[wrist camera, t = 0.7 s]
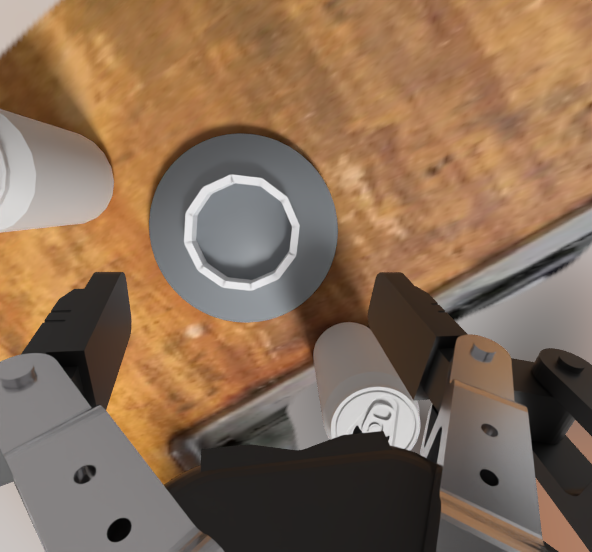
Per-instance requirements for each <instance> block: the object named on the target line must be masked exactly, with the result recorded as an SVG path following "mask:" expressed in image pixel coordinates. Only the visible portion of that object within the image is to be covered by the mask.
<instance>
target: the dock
mask: <svg viewBox="0 0 592 552" xmlns="http://www.w3.org/2000/svg"><path fill="white" fill-rule="evenodd" d="M149 230H150V240H151V246H152V250H153V253H154V256H155V259H156V262H157V264H158V266H159V268H160V270H161V272H162V274H163V275H164V277H165V279H166V280H167V282H168V283H169V284H170V285H171V287H172V288H173V289H174V290H175V291H176V292H177V293H178V294H179V295H180V296H181V297H182V298H183V299H184V300H185V301H187V302H188V303H189V304H191V305H192V306H193V307H195V308H197V309H198V310H200V311H202V312H204V313H206V314H208V315H211V316H213V317H216V318H220V319H223V320H228V321H234V322H259V321H264V320H269V319H273V318H276V317H278V316H281V315H284V314H286V313H288V312H290V311H292V310H293V309H295V308H296V307H298V306H299V305H301V304H302V303H303V302H305V301H306V300H307V299H308V298H309V297H310V296H311V295H312V294H313V293H314V292H315V291H316V290H317V288H318V287H319V286H320V284H321V283H322V281H323V280H324V278H325V277H326V275H327V273H328V271H329V269H330V267H331V264H332V261H333V258H334V255H335V250H336V246H337V235H338V226H337V216H336V211H335V206H334V203H333V200H332V197H331V194H330V192H329V190H328V188H327V186H326V184H325V182H324V180H323V179H322V177H321V176H320V174H319V173H318V172H317V170H316V169H315V168H314V167H313V166H312V165H311V163H310V162H309V161H307V160H306V159H305V158H304V157H303V156H302V155H301V154H299V153H298V152H296V151H295V150H293V149H292V148H291V147H289V146H287V145H285V144H283V143H281V142H279V141H277V140H274V139H271V138H268V137H264V136H259V135H254V134H240V133H239V134H227V135H222V136H218V137H214V138H211V139H208V140H206V141H203V142H201V143H199V144H197V145H196V146H194V147H192V148H190V149H189V150H188V151H186V152H185V153H184V154H182V155H181V156H180V157H179V158H178V159H177V160H176V161H175V162H174V163H173V164H172V165H171V166H170V168H169V169H168V170H167V172H166V173H165V174H164V176H163V178H162V179H161V181H160V183H159V185H158V187H157V190H156V192H155V195H154V197H153V201H152V205H151V210H150V220H149Z"/></svg>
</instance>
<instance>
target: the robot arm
mask: <svg viewBox="0 0 592 552" xmlns="http://www.w3.org/2000/svg"><path fill="white" fill-rule="evenodd" d="M368 323H369V327H370V329H371V331H372V333H373V334H374V336H375V337H376V339H377V341H378V342H379V344H380V346H381V347H382V349H383V351H384V352H385V354H386V356H387V357H388V359H389V361H390V362H391V364H392V366H393V367H394V369H395V371H396V372H397V374H398V376H399V377H400V379H401V381H402V382H403V384H404V386H405V387H406V389H407V391H408V392H409V394H410V396H411V397H412V399H413V401H415V400H427V399H430V401H431V402H432V405H431V407H430V410H429V413H428V417H427V422H426V427H425V432H424V437H423V441H422V446H421V451H420V455H419V454H417V453H415V452H412V451H409V450H406V449H403V448H399V447H395V446H390V444H389V442H388V440H387V438H386V436H385V433H384V431H378V432H368V433H358V434H348V435H341V436H339V437H336V438H333V439H331V440H328V441H325V442H323V443H320V444H317V445H315V446H312V447H309V448H307V449H304V450H288V449H281V448H273V447H265V446H258V445H240V446H231V447H221V448H211V449H202V450H201V466H198V467H195V468H193V469H190V470H188V471H186V472H184V473H182V474H180V475H178V476H177V477H175V478H174V479H172V480H170V481H169V482H167V483H166V484H165V485H163V484H162V483H161V481H160V480H159V479H158V477H157V476H156V475H155V474H154V472H153V471H152V470H151V468H150V467H149V466H148V464H147V463H146V462H145V461H144V459H143V458H142V457H141V455H140V454H139V453H138V452H137V450H136V449H135V448H134V446H133V445H132V444H131V442H130V441H129V440H128V439H127V437H126V436H125V435H124V433H123V432H122V431H121V429H120V428H119V427H118V426H117V424H116V423H115V422H114V420H113V419H112V418H111V417H110V415H109V414H108V413H107V411H106V409H107V405H108V402H109V399H110V396H111V393H112V390H113V387H114V384H115V381H116V378H117V375H118V372H119V369H120V366H121V362H122V359H123V356H124V353H125V350H126V347H127V344H128V341H129V338H130V334H131V312H130V304H129V297H128V290H127V283H126V277H125V274H124V273H123V272H95V273H94V274H93V275H92V277H91V279H90V280H89V282H88V284H87V285H86V287H85V289H74V290H72V291H71V292H69V293H68V294H66V295H65V296H63V297H62V298H60V299H59V300H58V302H57V303H56V305H55V306H54V307H53V309H52V310H51V313H49V315H48V316H47V318H46V319H45V323H42V325H41V326H40V328H39V329H38V331H37V332H36V333H35V335H34V336H33V338H32V339H31V341H30V342H29V344H28V345H27V346H26V348H25V349H24V351H23V352H22V354H21V355H18V356H14V357H11V358H8V359H6V360H3V361H1V362H0V486H2V485H5V484H8V483H10V482H13V481H14V484H15V486H16V488H17V490H18V492H19V495H20V497H21V499H22V501H23V504H24V506H25V508H26V510H27V512H28V515H29V517H30V519H31V521H32V524H33V526H34V528H35V530H36V533H37V535H38V537H39V539H40V541H41V544H42V546H43V548H44V550H45V552H558V551H557V550H555V549H554V548H553V547H551V546H550V545H548V544H547V543H546V542H544V541H543V539H542V532H541V523H540V514H539V505H538V496H537V488H536V479H535V477H536V478H537V480H538V481H539V483H540V484H541V485H542V487H543V488H544V489H545V491H546V492H547V494H548V495H549V496H550V498H551V499H552V500H553V502H554V503H555V504H556V506H557V507H558V509H559V510H560V511H561V513H562V514H563V515H564V517H565V518H566V520H567V521H568V522H569V524H570V525H571V526H572V528H573V529H574V530H575V532H576V533H577V534H578V536H579V537H580V539H581V540H582V541H583V543H584V544H585V546H586V547H587V548H588V550H589V551H590V552H592V464H591V463H590V462H589V461H588V460H587V458H586V457H585V456H584V455H583V454H582V453H581V452H580V451H579V450H578V449H577V448H576V446H575V445H574V444H573V443H572V442H571V441H570V440H569V438H568V437H567V436H566V435H565V434H566V432H567V431H568V430H569V428H570V426H571V425H572V424H573V422H574V420H576V421H578V423H579V424H580V425H581V426H582V427H583V428H584V429H585V430H586V431H587V432H588V433H589V434H590V435H591V436H592V365H591V364H590V363H588V362H587V361H585V360H584V359H582V358H580V357H578V356H576V355H574V354H572V353H569V352H566V351H563V350H559V349H552V348H551V349H550V348H549V349H544V350H542V351H541V352H540V353H539V356H538V357H537V359H536V361H535V362H529V361H524V360H517V359H512V358H511V357H510V355H509V354H508V352H507V351H506V350H505V349H504V348H503V347H502V346H500V345H499V344H497V343H496V342H494V341H492V340H490V339H487V338H484V337H481V336H478V335H468V334H467V333H466V332H465V331H464V330H463V329H462V328H461V327H460V326H459V325H458V324H457V323H456V322H455V321H454V320H453V319H452V318H451V317H450V316H449V314H448V313H445V310H444V309H443V308H442V307H441V306H440V305H438V303H437V302H436V301H435V300H434V299H433V298H432V297H431V296H430V295H429V294H428V293H426V292H425V291H423V290H421V289H420V288H418V287H416V286H414V285H413V284H412V283H411V282H410V281H409V279H408V278H407V277H406V276H405V275H404V274H403V273H400V272H381V273H379V274H378V275H377V277H376V279H375V284H374V288H373V292H372V296H371V301H370V305H369V309H368Z"/></svg>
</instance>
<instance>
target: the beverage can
mask: <svg viewBox="0 0 592 552" xmlns="http://www.w3.org/2000/svg"><path fill="white" fill-rule="evenodd" d="M313 358H314V366H315V372H316V379H317V385H318V392H319V398H320V405H321V412H322V418H323V424H324V428H325V431H326V434H327V436H328V438H329V439H330V440H331V439H333V438H336V437H339V436H341V435H348V434H358V433H368V432H378V431H384V433H385V436H386V438H387V440H388V442H389V444H390V446H395V447H399V448H403V449H406V450H409V451H410V450H411V449H412V448H413V446H414V445H415V443H416V441H417V439H418V435H419V432H420V418H419V406H418V402H417V400H415V401H413V399H412V397H411V396H410V394H409V392H408V391H407V389H406V387H405V386H404V384H403V382H402V381H401V379H400V377H399V376H398V374H397V372H396V371H395V369H394V367H393V366H392V364H391V362H390V361H389V359H388V357H387V356H386V354H385V352H384V351H383V349H382V347H381V346H380V344H379V342H378V341H377V339H376V337H375V336H374V334H373V333H372V331H371V330H370V329H369V328H368V327H366V326H364V325H362V324H358V323H354V322H345V323H339V324H336V325H334V326H332V327H330V328H328V329H327V330H326V331H325V332H323V334H322V335H321V336H320V337H319V339H318V340H317V342H316V344H315V348H314V354H313Z"/></svg>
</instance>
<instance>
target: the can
mask: <svg viewBox="0 0 592 552" xmlns="http://www.w3.org/2000/svg"><path fill="white" fill-rule="evenodd" d="M113 186H114V179H113V174H112V168H111V166H110V164H109V162H108V160H107V158H106V156H105V154H104V153H103V152H102V151H101V150H100V148H99V147H98V146H97V145H96V144H95V143H94V142H93V141H91V140H89V139H87V138H86V137H84V136H82V135H81V134H78V133H75V132H72V131H68V130H65V129H62V128H59V127H56V126H53V125H50V124H46V123H43V122H40V121H37V120H34V119H31V118H27V117H24V116H21V115H18V114H15V113H12V112H9V111H5V110H2V109H0V232H9V231H18V230H27V229H36V228H45V227H54V226H64V225H73V224H82V223H86V222H88V221H90V220H93V219H95V218H97V217H98V216H99V215H100V214H101V213H102V212H103V211H104V210H105V209H106V208H107V206H108V204H109V202H110V200H111V198H112V194H113Z"/></svg>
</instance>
